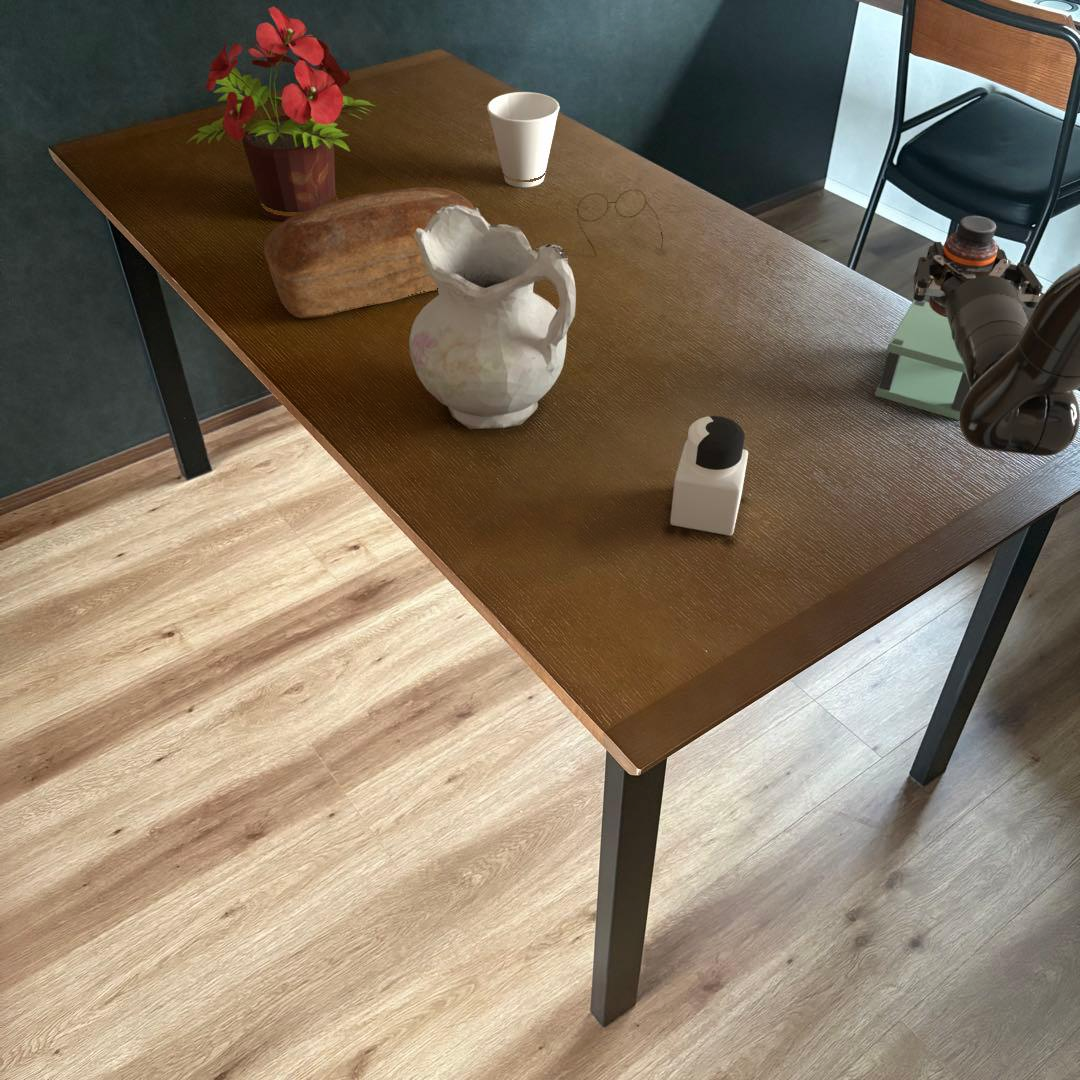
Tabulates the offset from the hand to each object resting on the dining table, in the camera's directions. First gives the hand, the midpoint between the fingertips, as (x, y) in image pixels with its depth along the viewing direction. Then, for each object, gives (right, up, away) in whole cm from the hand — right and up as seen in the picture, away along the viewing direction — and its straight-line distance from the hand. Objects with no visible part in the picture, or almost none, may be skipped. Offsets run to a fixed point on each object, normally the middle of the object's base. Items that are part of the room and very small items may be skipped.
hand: (963, 250), depth 129 cm
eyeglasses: (-38, +13, +41) cm, 57 cm away
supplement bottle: (0, -6, +3) cm, 7 cm away
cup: (-53, +27, +55) cm, 81 cm away
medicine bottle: (-32, -32, -5) cm, 45 cm away
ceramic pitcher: (-56, -17, +9) cm, 59 cm away
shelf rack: (0, -14, +12) cm, 19 cm away
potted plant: (-90, +22, +51) cm, 105 cm away
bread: (-74, +2, +30) cm, 80 cm away
